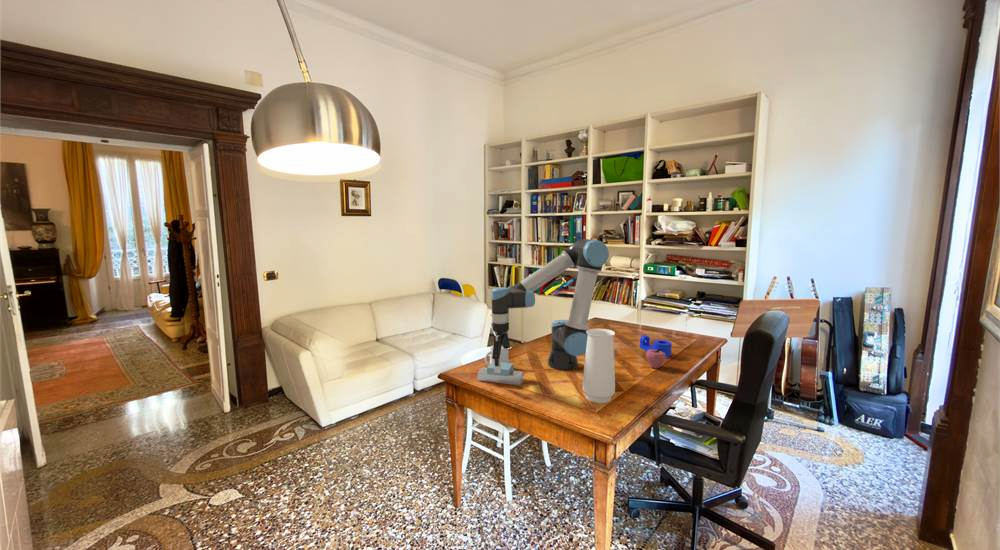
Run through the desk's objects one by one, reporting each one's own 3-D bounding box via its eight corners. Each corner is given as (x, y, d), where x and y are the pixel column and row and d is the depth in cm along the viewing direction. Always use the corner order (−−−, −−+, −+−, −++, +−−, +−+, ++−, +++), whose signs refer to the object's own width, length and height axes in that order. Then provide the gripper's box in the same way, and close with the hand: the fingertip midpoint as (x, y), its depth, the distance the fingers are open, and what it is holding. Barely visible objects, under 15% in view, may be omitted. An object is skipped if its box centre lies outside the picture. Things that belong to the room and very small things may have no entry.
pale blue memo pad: (513, 376, 186) (513, 363, 185) (508, 384, 178) (508, 370, 177) (492, 374, 189) (492, 361, 188) (487, 381, 180) (487, 367, 180)
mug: (488, 372, 193) (488, 352, 191) (480, 367, 200) (480, 347, 198) (509, 367, 199) (509, 347, 198) (500, 362, 206) (500, 343, 205)
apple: (658, 363, 205) (659, 344, 203) (669, 369, 196) (670, 350, 195) (641, 365, 203) (642, 346, 201) (652, 371, 194) (653, 351, 193)
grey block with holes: (523, 379, 184) (523, 371, 183) (520, 385, 178) (520, 376, 177) (482, 375, 189) (482, 367, 189) (477, 380, 183) (477, 372, 183)
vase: (619, 404, 159) (622, 336, 155) (587, 405, 158) (589, 337, 154) (608, 390, 172) (610, 327, 168) (578, 391, 171) (580, 328, 167)
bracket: (674, 357, 215) (675, 343, 214) (661, 359, 211) (662, 345, 210) (649, 347, 233) (649, 334, 232) (636, 348, 230) (637, 335, 229)
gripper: (500, 315, 193) (501, 357, 196) (484, 328, 169) (485, 376, 172) (515, 315, 191) (516, 358, 194) (501, 329, 167) (502, 378, 170)
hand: (501, 367), depth 183 cm, fingers open, 13 cm apart
